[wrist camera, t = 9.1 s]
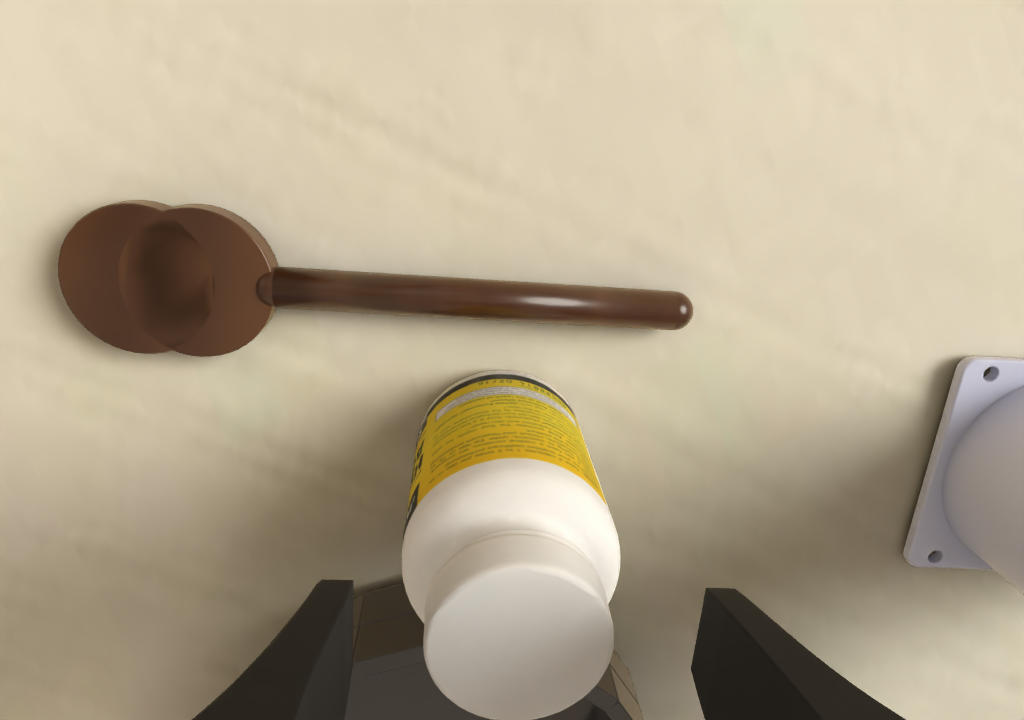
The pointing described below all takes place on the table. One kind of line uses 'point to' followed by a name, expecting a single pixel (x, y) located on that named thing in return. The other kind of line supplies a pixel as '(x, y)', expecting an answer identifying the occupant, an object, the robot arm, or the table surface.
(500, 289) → the walnut spoon
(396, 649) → the frying pan
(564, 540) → the supplement bottle
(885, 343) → the table surface
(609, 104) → the table surface
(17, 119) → the table surface
